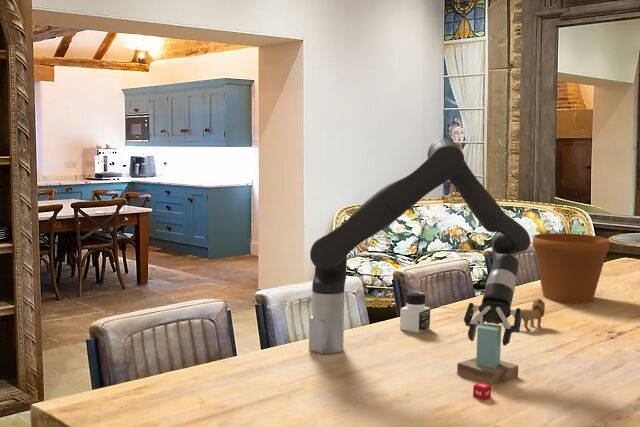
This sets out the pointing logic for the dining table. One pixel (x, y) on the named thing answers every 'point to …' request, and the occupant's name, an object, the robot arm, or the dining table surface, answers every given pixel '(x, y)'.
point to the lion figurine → (533, 313)
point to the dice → (482, 391)
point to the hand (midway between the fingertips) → (487, 341)
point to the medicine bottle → (415, 313)
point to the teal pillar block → (488, 345)
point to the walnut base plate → (487, 372)
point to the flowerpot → (569, 265)
